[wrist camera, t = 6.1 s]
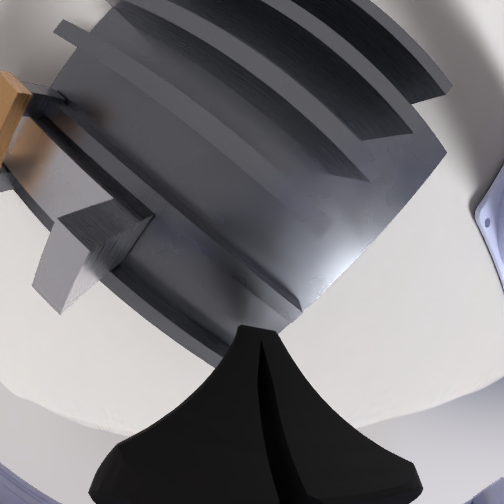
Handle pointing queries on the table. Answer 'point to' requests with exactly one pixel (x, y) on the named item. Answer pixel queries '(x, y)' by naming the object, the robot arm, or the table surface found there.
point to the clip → (73, 210)
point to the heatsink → (240, 148)
